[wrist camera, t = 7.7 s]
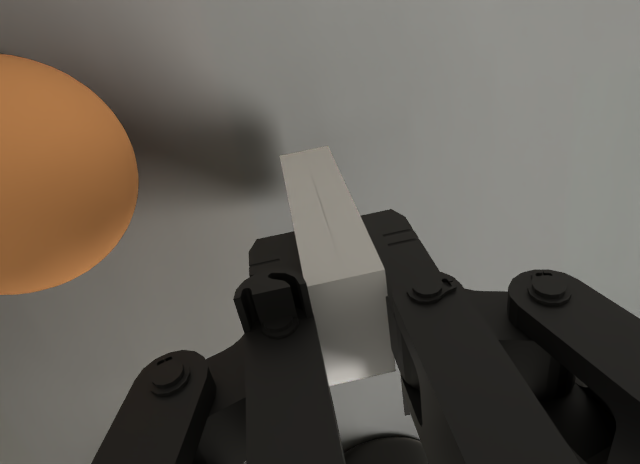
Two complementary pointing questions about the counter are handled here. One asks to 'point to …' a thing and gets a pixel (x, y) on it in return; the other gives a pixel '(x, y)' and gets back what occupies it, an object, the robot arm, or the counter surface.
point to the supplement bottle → (387, 452)
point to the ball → (58, 177)
